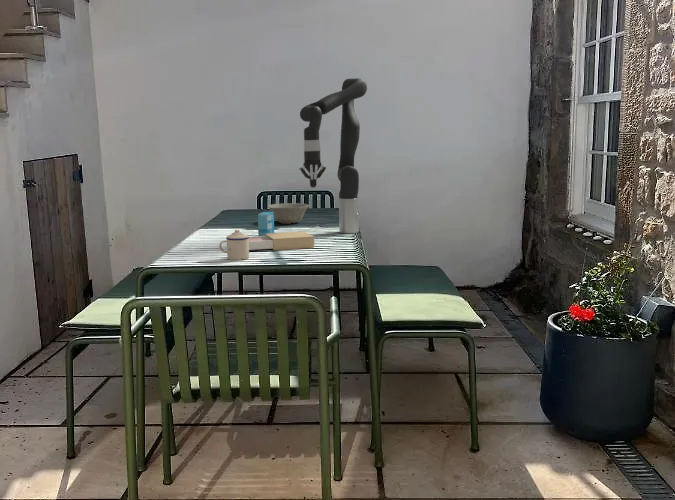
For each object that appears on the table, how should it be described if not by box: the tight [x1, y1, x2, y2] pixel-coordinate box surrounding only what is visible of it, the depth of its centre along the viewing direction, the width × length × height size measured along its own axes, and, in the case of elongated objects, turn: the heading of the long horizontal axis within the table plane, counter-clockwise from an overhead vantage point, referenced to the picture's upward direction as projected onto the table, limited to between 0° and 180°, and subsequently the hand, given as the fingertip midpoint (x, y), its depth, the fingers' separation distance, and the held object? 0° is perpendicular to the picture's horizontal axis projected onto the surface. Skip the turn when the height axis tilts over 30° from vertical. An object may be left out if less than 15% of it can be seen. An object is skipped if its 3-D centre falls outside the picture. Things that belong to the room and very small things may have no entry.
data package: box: [257, 211, 275, 236], centre depth 318 cm, size 12×4×12 cm, turn 170°
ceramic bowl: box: [267, 202, 310, 225], centre depth 368 cm, size 22×23×10 cm
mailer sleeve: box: [265, 230, 315, 251], centre depth 293 cm, size 18×16×5 cm
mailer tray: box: [248, 235, 316, 251], centre depth 291 cm, size 32×14×4 cm, turn 109°
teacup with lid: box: [218, 229, 250, 261], centre depth 265 cm, size 12×9×12 cm
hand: (313, 187), depth 309 cm, fingers closed
